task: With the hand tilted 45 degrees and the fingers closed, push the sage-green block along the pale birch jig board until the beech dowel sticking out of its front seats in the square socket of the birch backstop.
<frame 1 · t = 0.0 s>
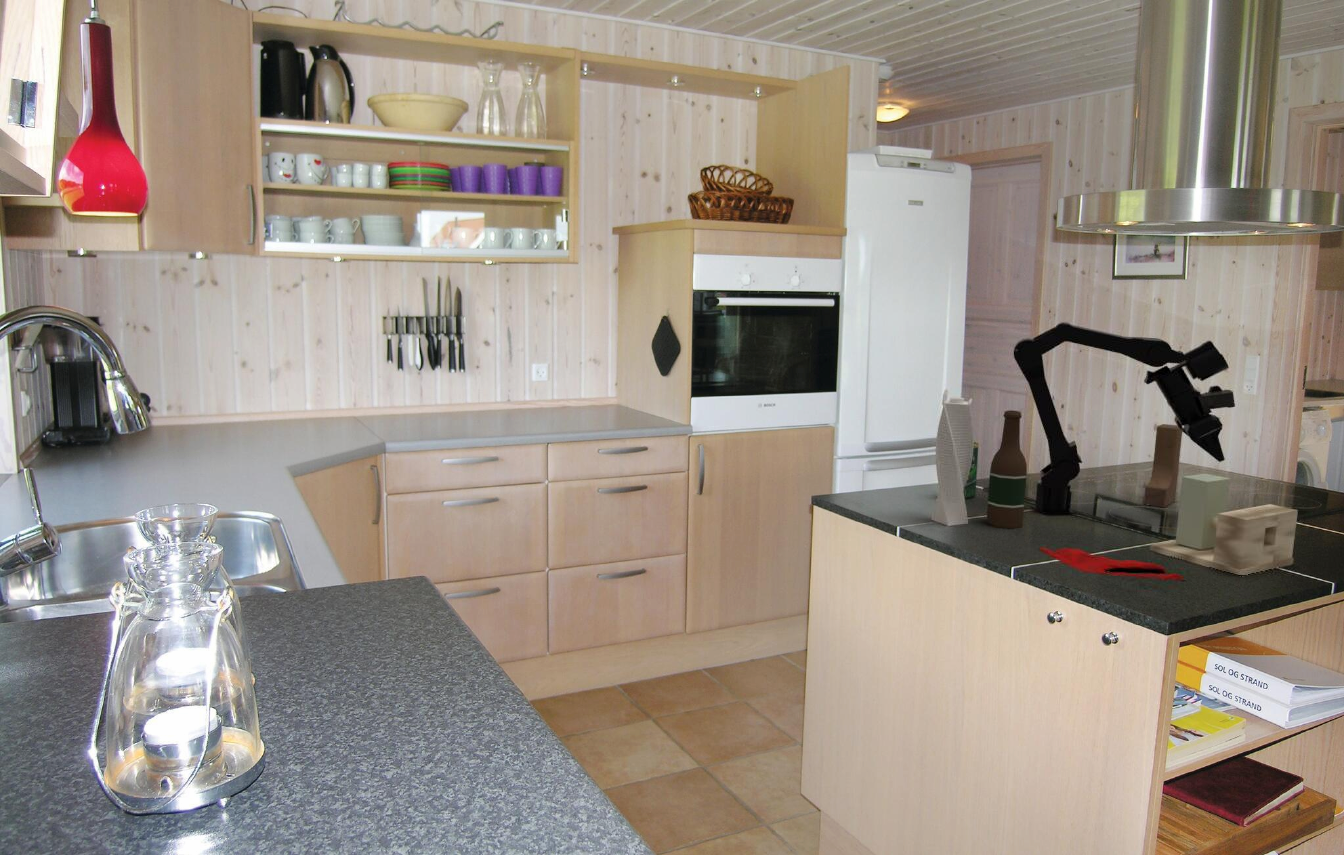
hand: (1217, 456, 199), 15 cm above the countertop, tool tilted 35°, fingers open, 9 cm apart
wooden block: (1159, 504, 222), on the countertop
cloth: (1103, 569, 173), on the countertop
jig: (1223, 558, 178), on the countertop
block: (1212, 513, 180), point 8 cm above the countertop, slide at 0.0 cm
skyscraper: (948, 522, 202), on the countertop
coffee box: (959, 499, 223), on the countertop
beer bottle: (1004, 524, 201), on the countertop
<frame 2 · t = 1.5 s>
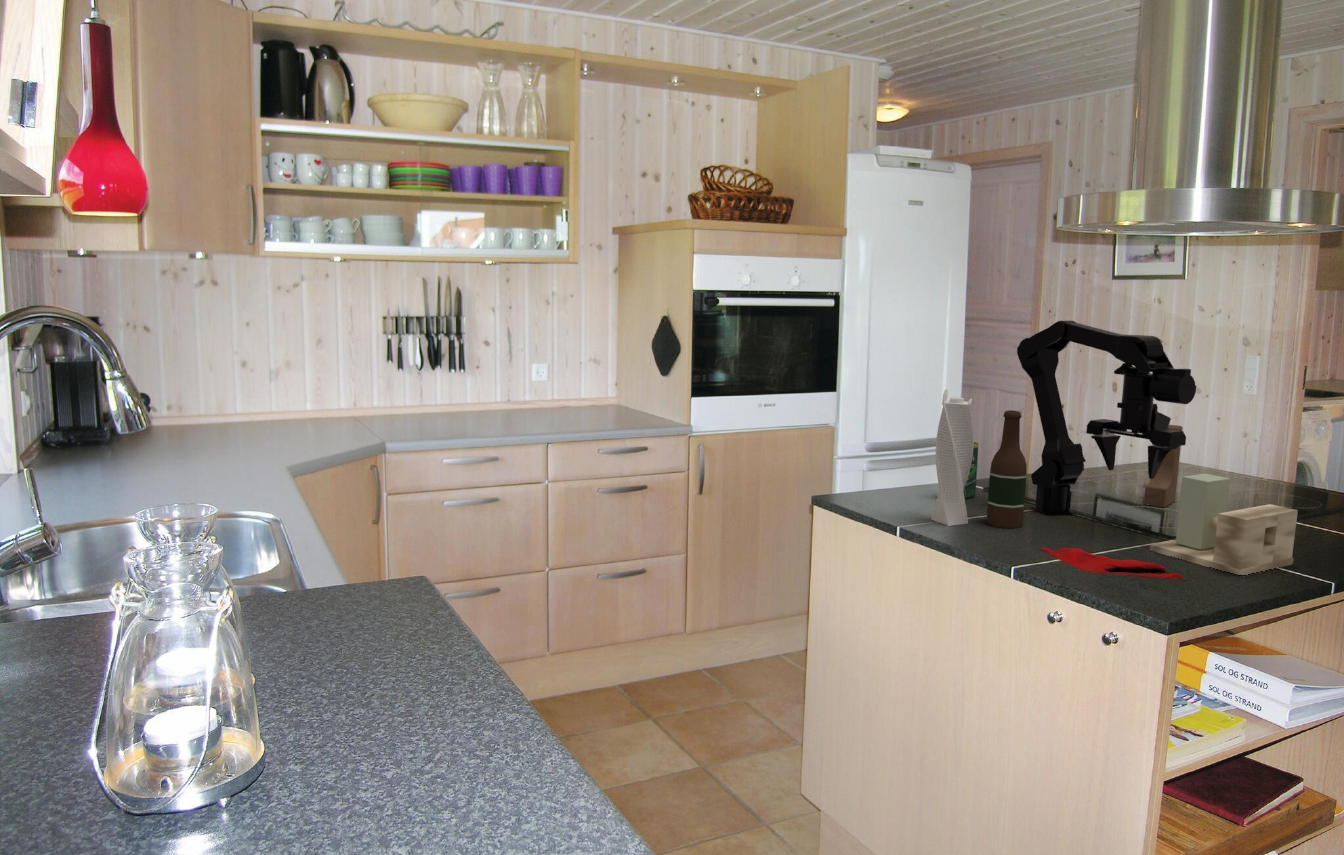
hand: (1130, 474, 195), 12 cm above the countertop, tool pointing down, fingers open, 9 cm apart
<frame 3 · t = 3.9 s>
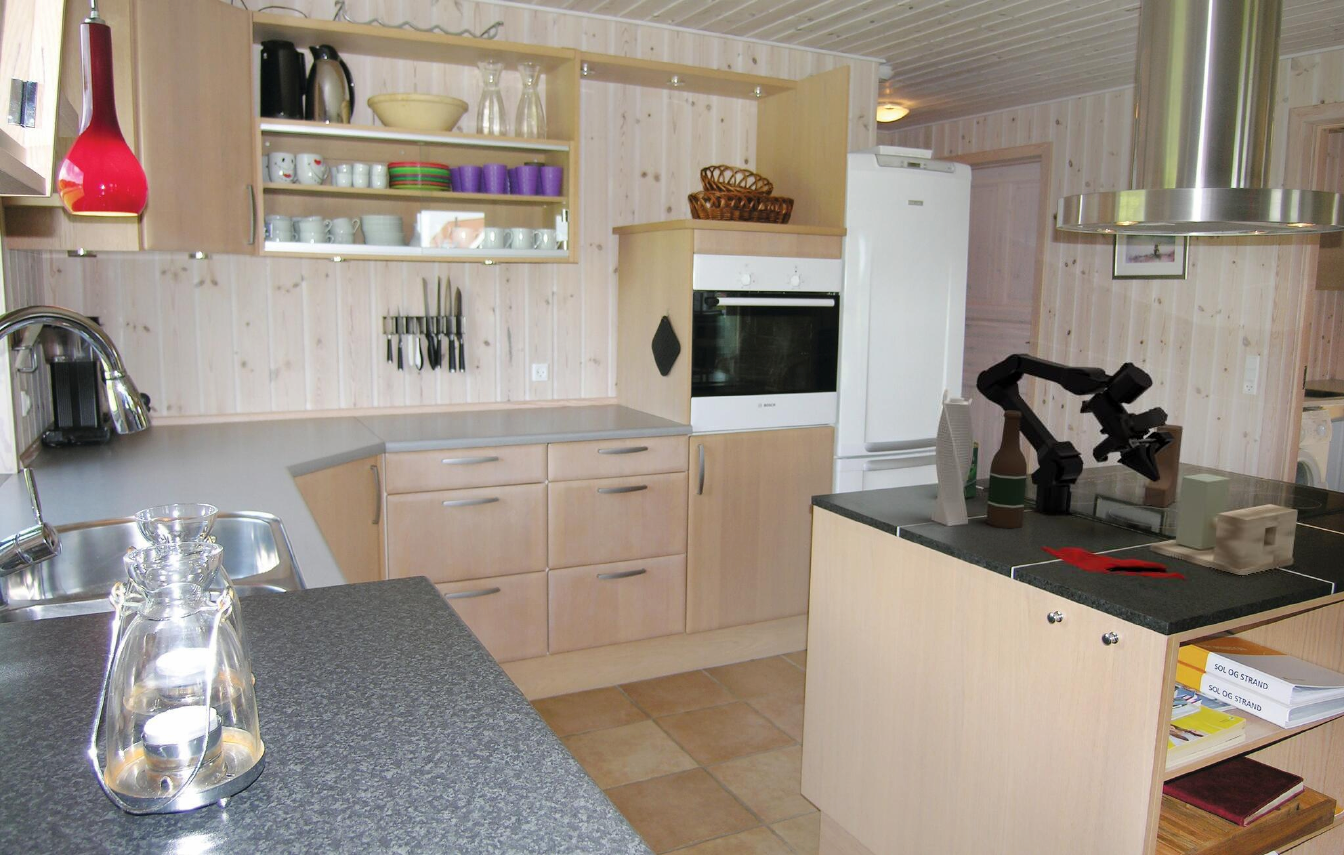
hand: (1157, 480, 189), 12 cm above the countertop, tool tilted 45°, fingers closed
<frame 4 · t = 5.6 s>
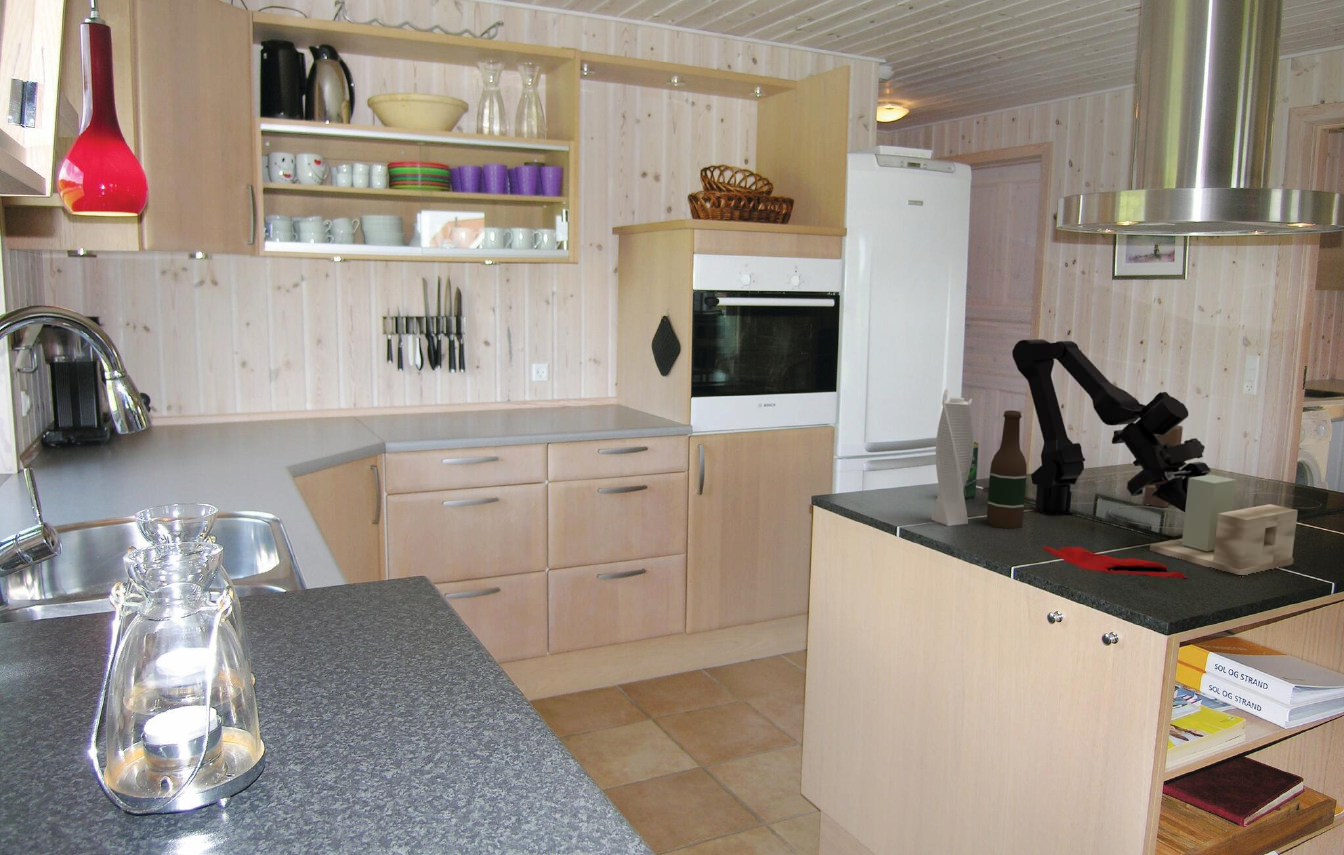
hand: (1194, 514, 183), 7 cm above the countertop, tool tilted 45°, fingers closed, pressing on block
block: (1219, 514, 178), point 8 cm above the countertop, slide at 1.3 cm, touching gripper
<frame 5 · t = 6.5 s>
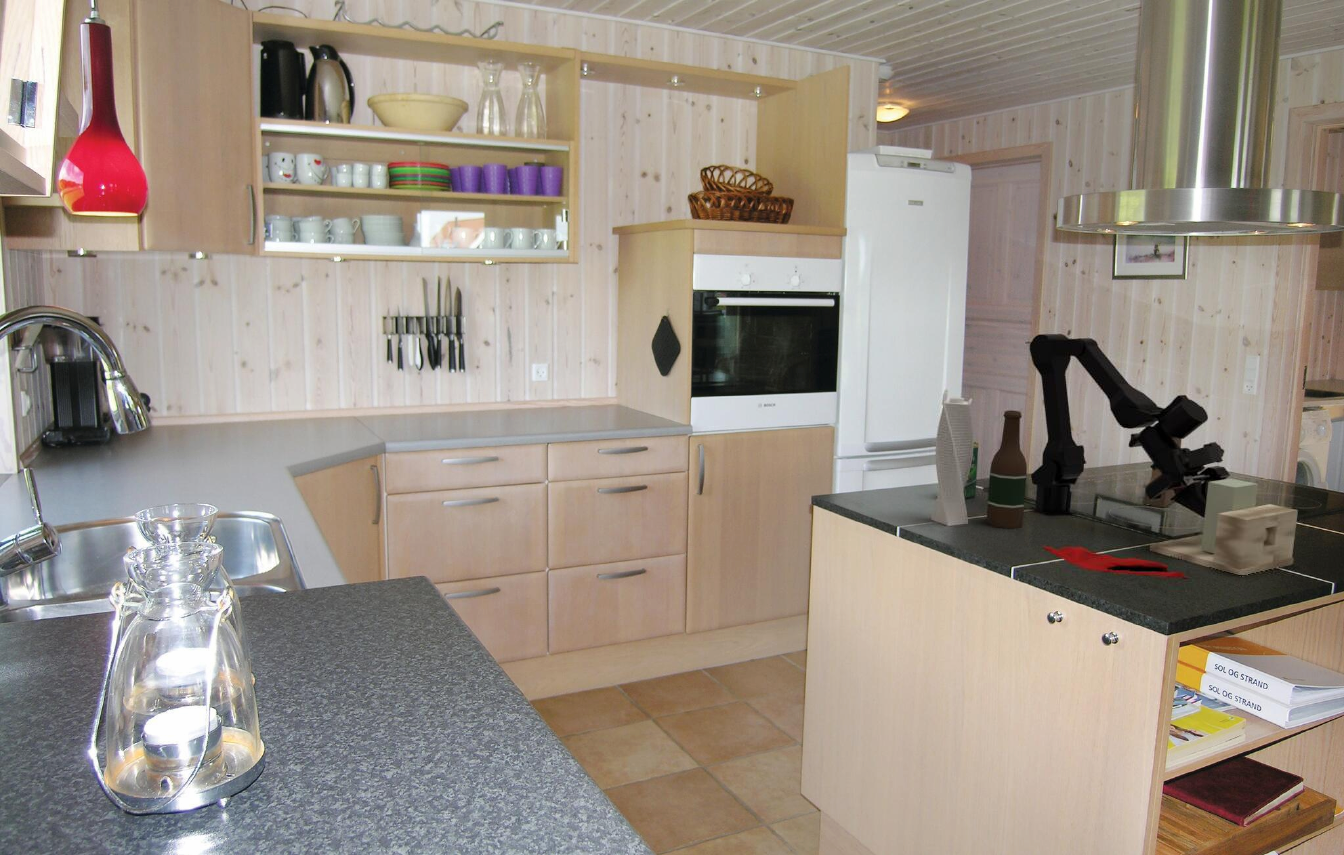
hand: (1214, 520, 180), 7 cm above the countertop, tool tilted 45°, fingers closed, pressing on block
block: (1240, 519, 175), point 8 cm above the countertop, slide at 5.1 cm, touching gripper
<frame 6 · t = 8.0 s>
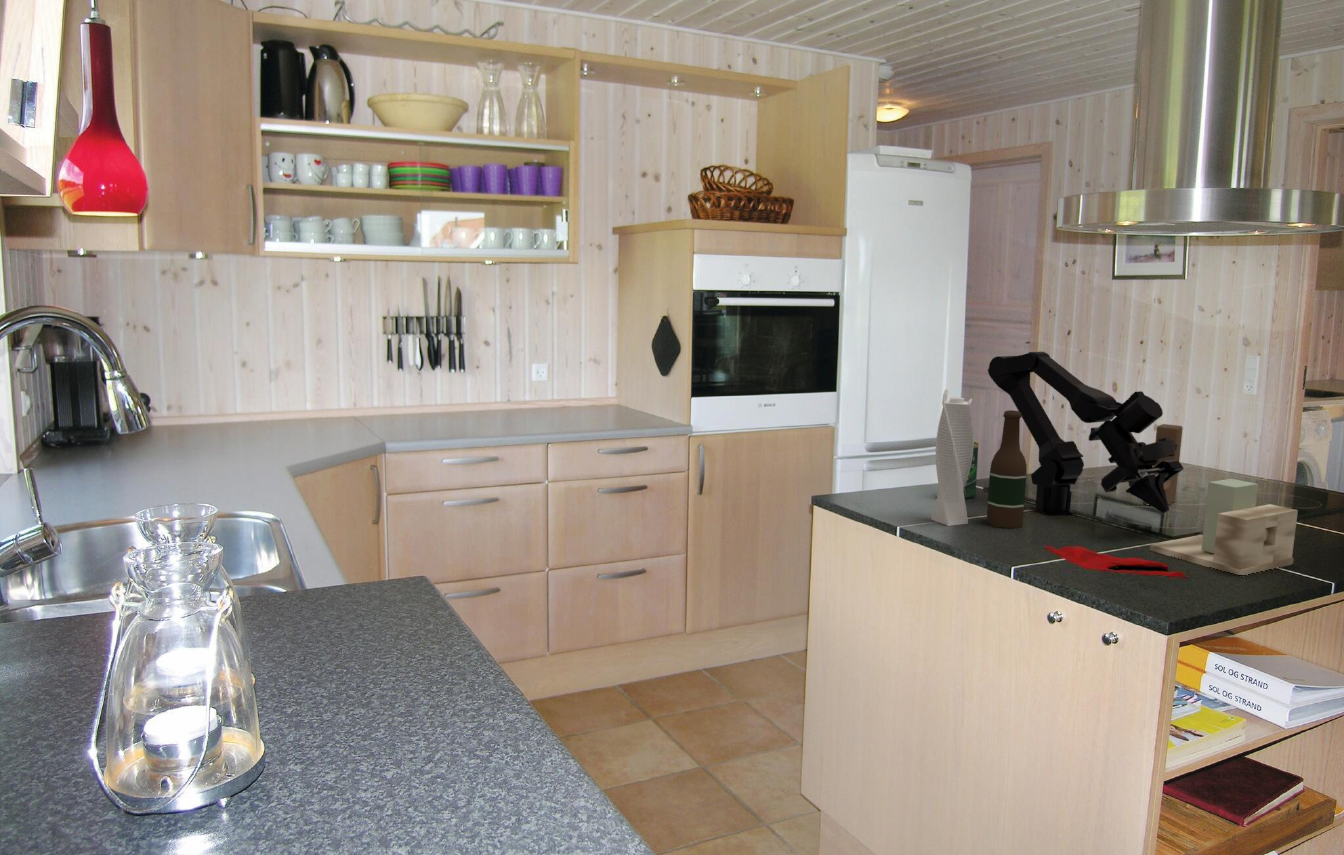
hand: (1166, 511, 188), 6 cm above the countertop, tool tilted 45°, fingers closed
block: (1240, 519, 175), point 8 cm above the countertop, slide at 5.2 cm
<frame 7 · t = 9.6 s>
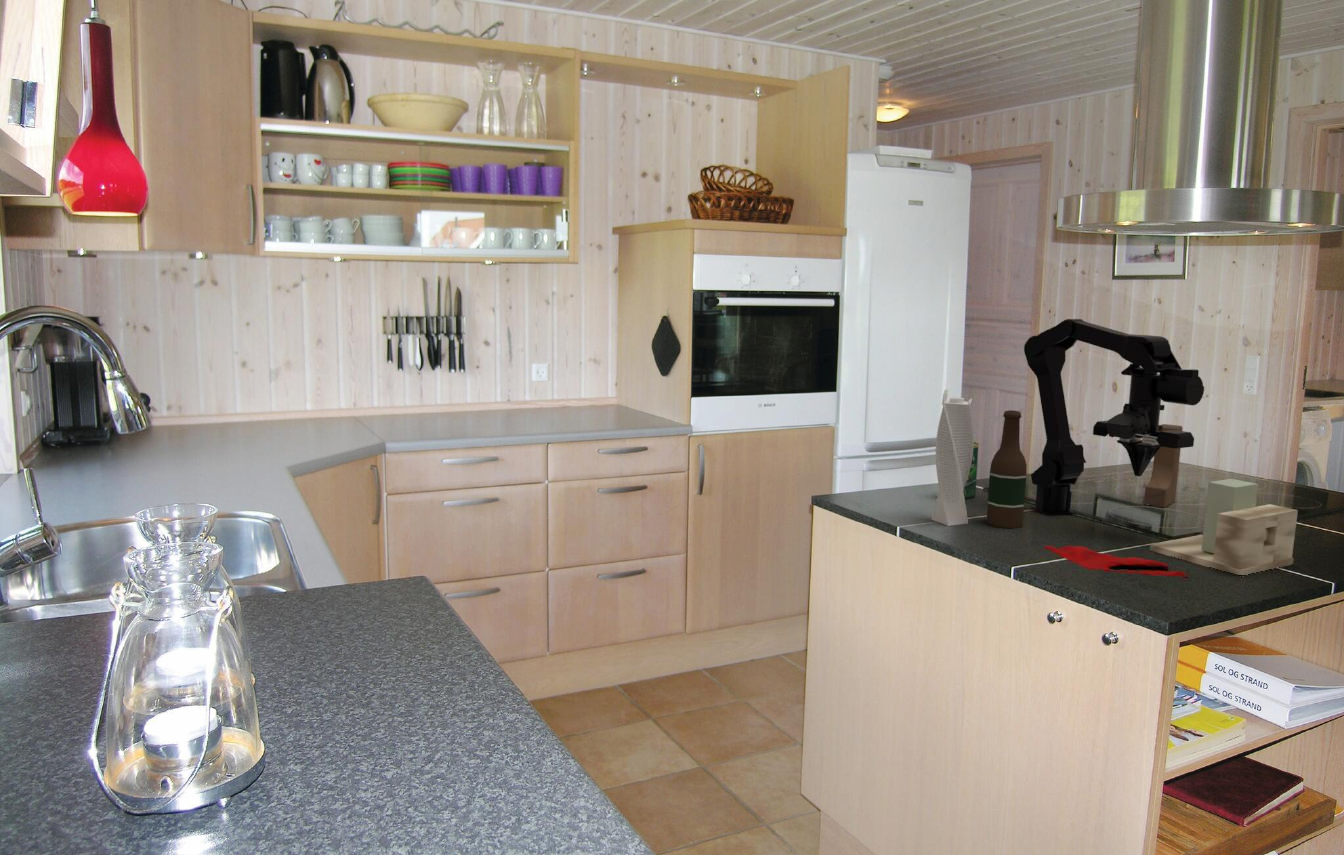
hand: (1138, 475, 193), 12 cm above the countertop, tool pointing down, fingers closed
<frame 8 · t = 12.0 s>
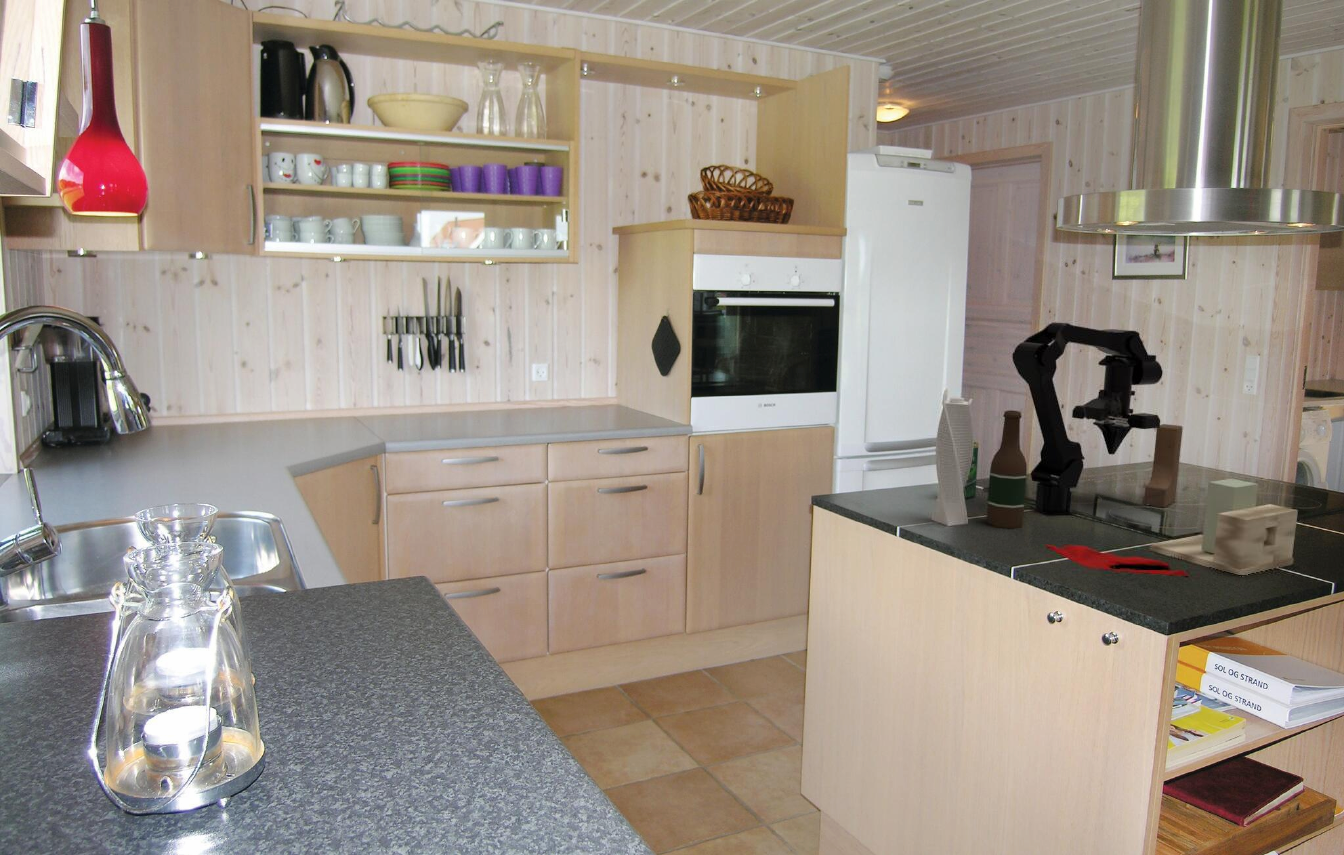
hand: (1111, 454, 216), 12 cm above the countertop, tool pointing down, fingers closed
at the end: block slide at 5.2 cm; the gripper is holding nothing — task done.
